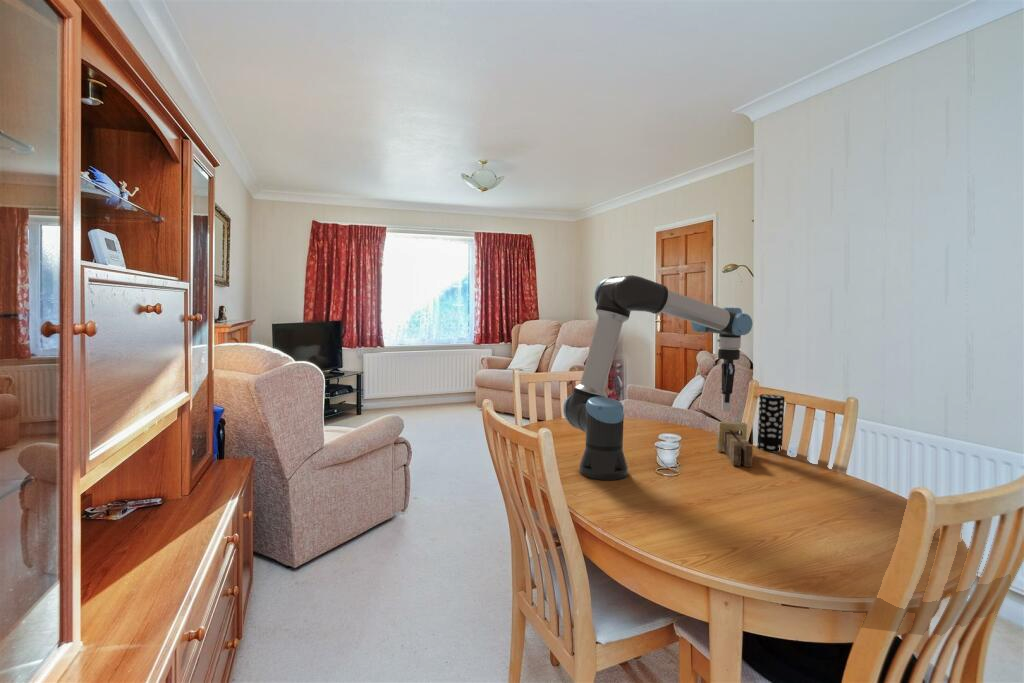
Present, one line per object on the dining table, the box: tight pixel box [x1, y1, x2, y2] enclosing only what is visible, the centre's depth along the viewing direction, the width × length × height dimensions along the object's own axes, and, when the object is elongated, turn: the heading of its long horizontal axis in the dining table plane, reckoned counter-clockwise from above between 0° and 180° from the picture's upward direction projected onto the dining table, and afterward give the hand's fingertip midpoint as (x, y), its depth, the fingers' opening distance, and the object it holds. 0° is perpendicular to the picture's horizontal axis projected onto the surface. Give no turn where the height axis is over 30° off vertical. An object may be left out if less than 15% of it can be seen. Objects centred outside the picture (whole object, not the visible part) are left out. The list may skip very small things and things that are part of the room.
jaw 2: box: [731, 431, 753, 468], centre depth 180 cm, size 20×2×7 cm, turn 170°
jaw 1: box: [723, 431, 741, 467], centre depth 180 cm, size 20×2×7 cm, turn 166°
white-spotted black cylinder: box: [756, 393, 786, 453], centre depth 192 cm, size 8×8×20 cm
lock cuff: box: [716, 421, 748, 453], centre depth 188 cm, size 3×9×11 cm, turn 78°
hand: (725, 410), depth 194 cm, fingers closed
